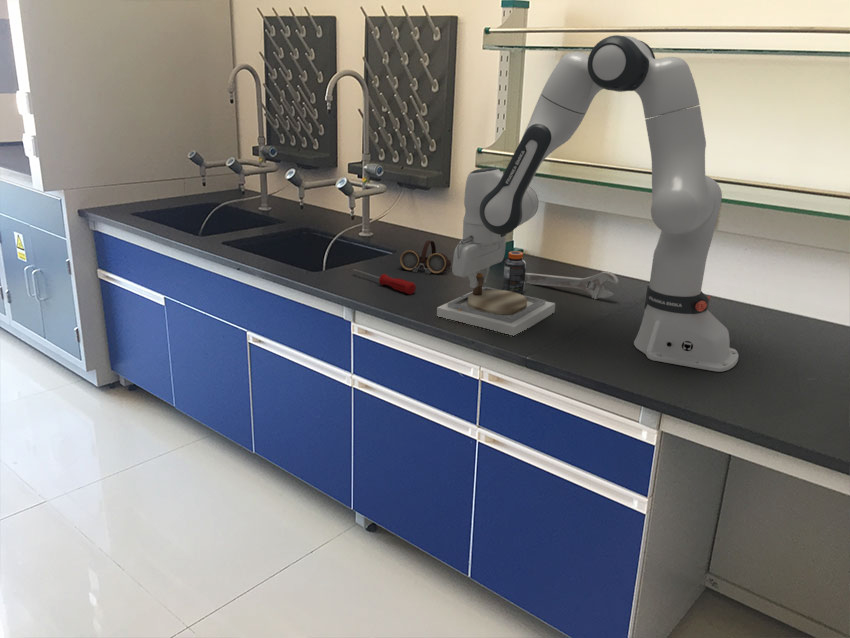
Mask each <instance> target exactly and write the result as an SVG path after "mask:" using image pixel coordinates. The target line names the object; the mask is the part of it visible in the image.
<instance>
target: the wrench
mask: <svg viewBox="0 0 850 638" xmlns="http://www.w3.org/2000/svg"><path fill="white" fill-rule="evenodd" d="M525 277H527V281H526V283H529V284H528V285H538V286H545V287H546V286H548V287H549V286H550V287H556V288H557V287H559V288H571V289H578V290H583V291H585V293H588V294H589V295H590V296H591V299H593V298H594V299H593V300H595V299H596V300H598V299H600V298H601V299H607V298H611V297H613V296H614V292H612V290H609V289H606V288H605V285H604V284H605V282H606V281H609V282H610V283H612V284H615V285H618V284H619V279H618V277H617V275H615V274H614V273H613V272H612V271H602V272H600V273H597V274H594V275H591V276H587V277H584V278H581V277H573V276H572V277H571V276H562V275H551V274H542V273H541V274H540V273H533V272H525ZM526 283H525V284H526Z"/></svg>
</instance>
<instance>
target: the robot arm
mask: <svg viewBox="0 0 850 638" xmlns="http://www.w3.org/2000/svg"><path fill="white" fill-rule="evenodd" d="M602 90H607V91H611V92H613V91H614V92H618V93H619V92H620V93H622V92H623V93H624V92H635V93H636V94H637V95H638V96H639V98H640V101H641V106H642V109H643V115H644V121H645V126H646V132H647V137H648V143H649V148H650V149H649V150H650V157H651V192H652V197H651V199H652V201H651V206H650V215H651V218H652V221H653V224H655V226H656V227H657V228H658V229H659V230H661V231H660V235H659V238H658V242H657V244H656V246H655V249H654V252H653V257H652V264H651V271H650V279H649V285H647V287H646V291H645V296H644V304H643V305H644V306H643V307H644V308H643V309H644V313H643V317H642V321H641V323H640V327H639V330H638V333H637V335H636V337H635V339H634V341H633V345H634V347H635V348H636V349H637V350H638V351H640V352H642V353H643V354H645V355H646V357H647V359H649V360H651V361H655V362H662V363H665V364H671V365H672V364H673V365H678V366H682V367H683V366H684V367H689V368H693V369H694V368H695V369H699V370H705V371H706V370H707V371H710V372H711V371H712V372H717V373H718V372H719V373H721V372H725V371H729V370H731V369H732V368H734V367H735V366H736V365H737V364H738V361H739V353H738V351H737V350H736V349H735V348H732V347H731V346H730V333H729V330H728V328H727V326H725V325H724V324H723V323H721V321H720V320H719V319H718V318H716V317H715V315H713V314H712V313H711V312H710V311H709V310H708V309H709V305H710V301H711V294H710V295H708V296H707V295H706V294H705V293H704V292H703V291H702V288H703V283H704V282H703V281H704V276H705V275H704V274H705V270H706V269H705V268H706V264H707V258H708V254H709V251H710V247H711V244H712V240H713V237H714V233H715V228H716V226H717V225H716V224H717V221H718V217H719V212H720V209H721V208H720V207H721V203H722V197H723V195H722V190H721V187H720V185H719V183H718V182H717V181H716V180H715V179H713V178H712V177H710V176H709V175H708V176H707V175H706V147H707V142H706V141H707V140H706V135H705V128H704V122H703V116H702V111H701V106H700V105H701V104H700V99H699V94H698V89H697V87H696V83H695V79H694V77H693V74H692V72H691V68H690V66H689V64H688V63H687V62H686V60H684V59H682V58H680V57H675V56H667V57H662V58H656V56H655V54H654V51H653V49H652V48H651V47H650V46H649V44H647V43H646V42H644V41H642V40H640V39H637V38H635V37H633V36H630V35H619V34H618V35H617V34H615V35H610V36H607V37H605V38H603V39H601V40H600V41H598V42H597V43H596V44H595V45H594V46H593V48H592V49H591V51H590V53H589V54H586V53H584V52H580V51H573V52H568V53H566V54H565V55H563V56H561V59H560V60H559V61H558V63H557V64H556V65H555V67H554V69H553V70H552V72H551V74H549V77H548V79H547V80H546V83H545V85H544V86H543V88H542V91H541V93H540V95H539V97H538V99H537V102H536V104H535V107H534V109H533V112H532V113H531V116H530V120H529V121H528V123H527V126H526V128H525V130H524V133H523V135H522V138H521V139H520V141H519V143H518V145H517V147H516V149H515V151H514V153H513V155H512V157H511V159H510V161H509V163H508V165H507V167H506V168H505V171H504V172H502V171H501V170H500V168H496V167H483V168H479V169H475V170H473V171H470V173H468V175H467V177H466V183H465V188H464V189H465V190H464V198H463V199H464V200H463V201H464V202H463V204H464V208H465V210H464V211H465V212H464V213H465V214H464V217H463V223H462V224H463V226H462V239H460V240H459V243H458V244H457V246H456V247H455V248H454V252H453V257H452V258H453V260H452V268H451V270H452V274H453V275H454V276H456V277H460V278H466V277H468V279H469V287H470V289H473V288H476V287H478V283H479V281H478V280H477V278H476V276H477V273H481V274H483V284H482V286H483V285H485V284H486V283H487V278H488V275H489V273H490V267H492V266H494V265H497V264H499V263H502V262H503V261H504V258H505V254H506V242H507V241H506V236H507V235H508V234H510V233H511V232H513V231H514V230H515V229H517V228H518V227H520V226H521V225H523V224H524V223H526V222H528V221H529V220H531V219H533V218H534V216H536V213H537V212H538V210H539V198H538V195H537V193H536V191H535V190H534V189H533V188H532V187H531V186H530V185H531V182H532V180H533V179H534V177H535V175H536V173H537V172H538V169H539V168H540V166H541V164H542V163H543V162H544V161H545V160H546V159H547V157H548V156H549V155H550V154H552V153H553V152H554V151H555V150H557V149H558V148H559V147H561V146H563V145H564V144H566V142H568V141H569V140H570V139H571V138H573V135H574V134H575V133H576V131H577V130H578V129H579V127H580V125H581V123H582V121H583V120H584V119H585V116H586V113H587V111H588V110H589V107H590V106H591V104H592V102H593V100H594V99H595V97H596V95H597V94H598V93H599V92H601V91H602Z"/></svg>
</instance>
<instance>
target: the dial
mask: <svg viewBox="0 0 850 638" xmlns="http://www.w3.org/2000/svg"><path fill="white" fill-rule="evenodd" d="M476 278H477V280H478V281H479V283H478V287H476V288H472V291H473V293H471V294H470V295H469V296H468V305H469V306H470V307H472V308H476V309H480V310H484V311H488V312H492V313H496V314H513V313H517V312H519V311H521V310H523V309H524V308H526V307H527V299H526V298H525V297H524V296H523V295H524V294H522V293H520V294H518V293H515V292H511V291H505V290H503V289H499V290H482V287H483V285H484V284H483V274H481V273H480V272H477V276H476ZM482 284H483V285H482Z"/></svg>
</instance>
